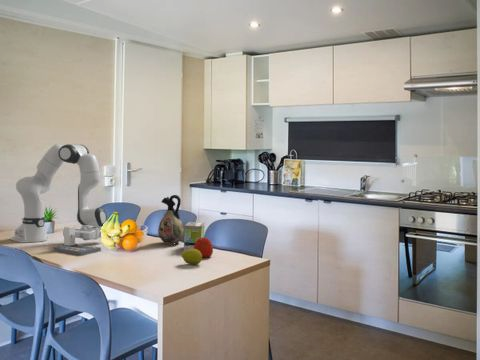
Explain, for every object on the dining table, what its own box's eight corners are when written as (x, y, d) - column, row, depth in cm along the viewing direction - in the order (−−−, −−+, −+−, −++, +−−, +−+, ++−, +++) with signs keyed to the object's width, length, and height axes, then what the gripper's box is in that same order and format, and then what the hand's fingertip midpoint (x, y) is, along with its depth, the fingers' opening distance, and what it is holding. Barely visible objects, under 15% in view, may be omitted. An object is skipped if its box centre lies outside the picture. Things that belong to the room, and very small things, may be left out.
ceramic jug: (153, 244, 271) (153, 194, 269) (164, 240, 286) (165, 193, 284) (179, 247, 266) (180, 196, 264) (189, 242, 281) (190, 194, 279)
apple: (195, 259, 235) (195, 239, 235) (191, 255, 245) (192, 235, 245) (214, 258, 238) (214, 238, 238) (210, 254, 248) (210, 235, 248)
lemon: (205, 264, 225) (205, 248, 224) (197, 267, 218) (197, 251, 217) (186, 261, 229) (187, 246, 229) (178, 265, 222) (178, 248, 222)
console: (53, 251, 248) (53, 246, 247) (73, 246, 260) (73, 242, 260) (81, 255, 238) (81, 250, 238) (100, 251, 250) (100, 246, 250)
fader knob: (62, 245, 251) (62, 227, 250) (69, 244, 255) (69, 225, 255) (69, 247, 248) (69, 227, 247) (76, 245, 252) (76, 226, 252)
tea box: (201, 252, 253) (201, 225, 253) (183, 251, 254) (183, 225, 253) (204, 246, 269) (204, 221, 268) (187, 246, 269) (187, 221, 268)
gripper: (74, 225, 267) (55, 228, 255) (100, 228, 258) (81, 231, 246) (74, 235, 268) (55, 239, 255) (100, 239, 258) (81, 243, 246)
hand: (68, 235), depth 250 cm, fingers closed on fader knob, 4 cm apart
